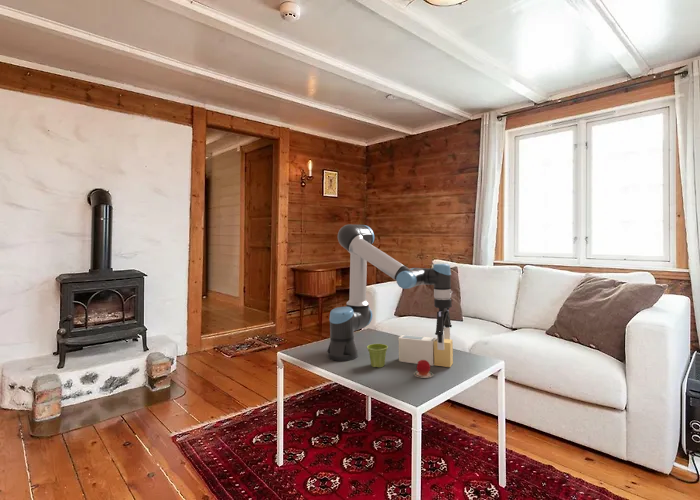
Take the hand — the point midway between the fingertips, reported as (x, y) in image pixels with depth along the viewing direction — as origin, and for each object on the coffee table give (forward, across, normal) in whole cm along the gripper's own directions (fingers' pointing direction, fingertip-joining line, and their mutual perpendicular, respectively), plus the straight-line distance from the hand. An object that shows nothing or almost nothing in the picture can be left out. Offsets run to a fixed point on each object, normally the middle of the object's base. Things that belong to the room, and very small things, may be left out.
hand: (444, 345), depth 168 cm
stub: (+9, 0, 0) cm, 9 cm away
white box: (+9, 0, +13) cm, 15 cm away
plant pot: (+9, -12, +28) cm, 31 cm away
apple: (+9, -16, +6) cm, 19 cm away
